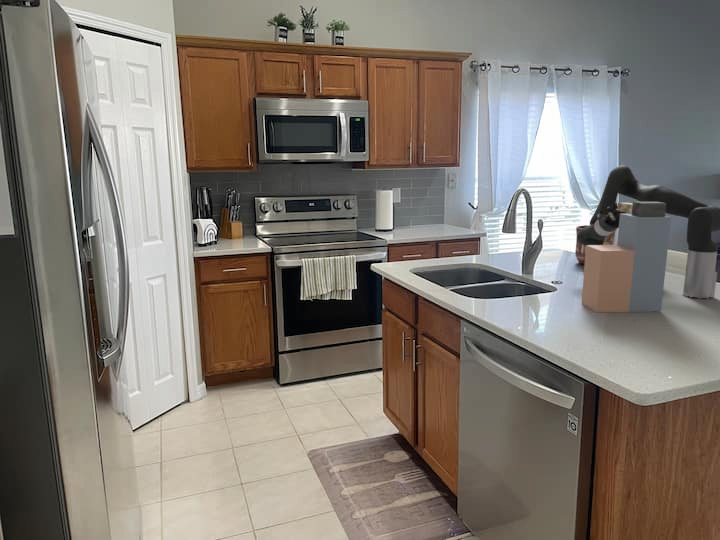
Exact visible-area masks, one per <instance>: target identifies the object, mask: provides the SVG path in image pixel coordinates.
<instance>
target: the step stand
mask: <svg viewBox="0 0 720 540" xmlns="http://www.w3.org/2000/svg"><path fill="white" fill-rule="evenodd" d="M671 220H672V217H671V216H669V215H667V216H666V215H665V217H638V216H633V215H632V214H628V213H627V214H620V219H619V228H618V229H617V230H618V231H617V232H618V233H617V242H616V243H617V244H613V245H586V253H585V265H583V267H584V268H583V269H584V270H583V278H582V279H583V281H582V293H581V295H582V296H581V304H582V305H584V306H585V307H587V308H589V309H590V310H592V311H594V312H595V313H646V312H647V313H648V312H650V311H661V312H662V306H663V305H662V304H663V297H664V296H663V294H664V289H665V279H666V277H665V276H666V268H667V259H668V248H669V240H670V231H671V230H670V229H671V225H672V224H671V223H672V221H671ZM650 313H651V312H650Z"/></svg>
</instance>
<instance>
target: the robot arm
mask: <svg viewBox="0 0 720 540" xmlns="http://www.w3.org/2000/svg"><path fill="white" fill-rule="evenodd" d="M618 194H619V195H621V196H624V197H628V198H631V199H634V200H636V201H637V202H662V203H666V212H665V214H668V215H672V216H676V217H681V218H686V219H687V225H686V226H687V227H686V228H687V229H686V242H687V245H688V247H687V254H686V265H685V273H684V280H683V281H684V282H683V289H682V295H683V296H684V297H688V296H689V298H692V297H697V298H696V299H702V298H706V299H710V298H709V297H711V298H715V295H716V294H715V293H716V286H717V277H718V272H717V271H716V265H717V256H718V250H719V245H718V243H717V242H715V241H713V240H712V233H713V232H718V231H720V207H718V206H714V205H711V204H708V203H705V202H701V201H698V200H695V199H694V198H691V197H689V196H687V195H684V194H682V193H680V192H678V191H676V190H673V189H672V188H669V187H667V186H665V185H662V184H653V185H647V184H644V183H642V182H640V181H639V180H637V178H636V177H635V175H634V174H633V171H632V169H631V168H630V167H629V166H627V165H619V166H616V167H614V168H613V169H612V170H611V171H610V173H609V174H608V176H607V180H606V184H605V185H604V189H603V192H602V195H601V198H600V201H599V203H598V205H597V207H596V209H595V210H594V213H593V214H592V216H591V218H590V220H589V225H590V226H587V227H584V228H583V229H581V230H580V231H579V232H578V234H576V239H577V241H578V242H579V243H581V244H582V245H584V246H586V245H603V244H604V240H605V238H606V237H607V236H608V235H609V234H611V233H613V232H614V231H615V230H618V229H619V219H620V214H631V213H626V212H621V211H618V202H617V198H618ZM615 232H616V231H615Z"/></svg>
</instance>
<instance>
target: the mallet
mask: <svg viewBox="0 0 720 540" xmlns="http://www.w3.org/2000/svg"><path fill="white" fill-rule="evenodd" d="M617 206H618V208H617V210H618V211H621V212H626V213H627V214H628V213H631V214H632V215H633V216H638V217H665V216H666V213H665V212H666V203H662V202H640V201H633V202H632V203H631V202H624V201H623V202H621V201H620V202H617Z"/></svg>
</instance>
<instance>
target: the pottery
mask: <svg viewBox="0 0 720 540" xmlns="http://www.w3.org/2000/svg"><path fill="white" fill-rule="evenodd" d="M587 226H590V224H589V225H587V224H586V225H579V226H578V225H577V226H576V229H575V230H576V231H575V232H576V234H575V235H577V234H578V232H579V231H580V230H581V229H583V228H584V227H587ZM616 230H617V229H616ZM616 230H615V231H614V232H613V233H611V234H609V235H608V236H607V237H606V238H605V240H604V244H603V245H615V244H614V242H615V236H616ZM575 239H576V240H575V241H576V243H575V257H576V260H577V262H578V263H579V264H580V265H582V266H585V253H586V246H584V245H582V244H581V243H579V242H578V241H577V238H575Z"/></svg>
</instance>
